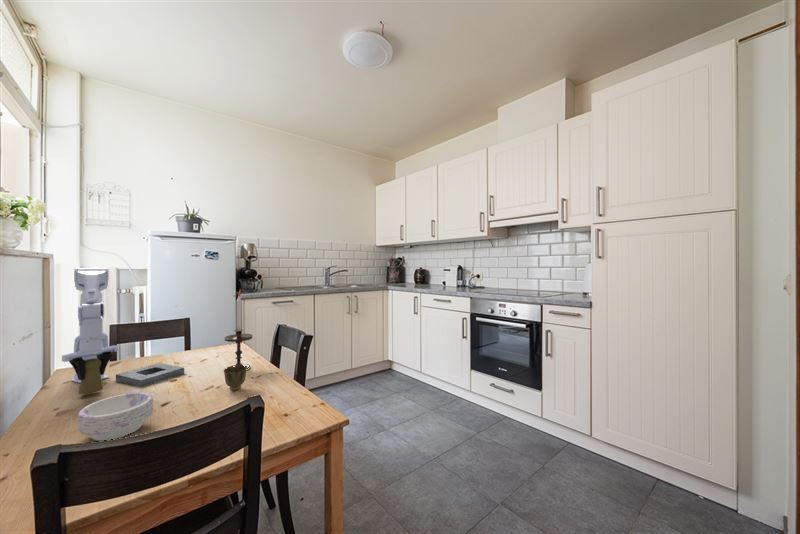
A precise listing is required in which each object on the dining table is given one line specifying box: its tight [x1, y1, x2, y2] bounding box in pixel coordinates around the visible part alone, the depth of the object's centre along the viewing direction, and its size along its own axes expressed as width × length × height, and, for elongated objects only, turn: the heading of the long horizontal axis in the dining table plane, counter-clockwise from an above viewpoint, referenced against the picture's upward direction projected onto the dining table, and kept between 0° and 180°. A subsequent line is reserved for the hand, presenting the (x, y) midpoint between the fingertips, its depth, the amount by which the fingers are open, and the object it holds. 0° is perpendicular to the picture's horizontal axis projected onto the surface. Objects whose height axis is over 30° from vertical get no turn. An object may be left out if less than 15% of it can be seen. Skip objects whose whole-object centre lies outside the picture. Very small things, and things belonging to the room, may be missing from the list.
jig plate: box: [115, 362, 185, 388], centre depth 129 cm, size 16×16×2 cm
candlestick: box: [224, 289, 253, 369], centre depth 140 cm, size 11×11×35 cm
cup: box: [223, 365, 247, 392], centre depth 117 cm, size 8×7×8 cm
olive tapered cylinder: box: [78, 359, 104, 395], centre depth 112 cm, size 6×6×11 cm
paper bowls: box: [77, 392, 154, 442], centre depth 87 cm, size 15×15×8 cm
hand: (91, 376), depth 112 cm, fingers closed on olive tapered cylinder, 5 cm apart
